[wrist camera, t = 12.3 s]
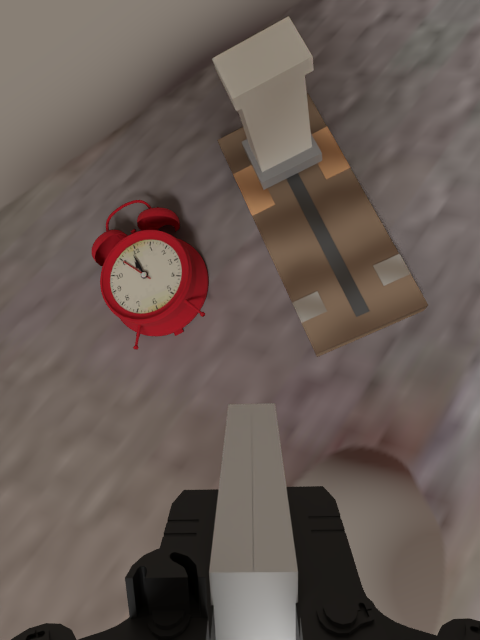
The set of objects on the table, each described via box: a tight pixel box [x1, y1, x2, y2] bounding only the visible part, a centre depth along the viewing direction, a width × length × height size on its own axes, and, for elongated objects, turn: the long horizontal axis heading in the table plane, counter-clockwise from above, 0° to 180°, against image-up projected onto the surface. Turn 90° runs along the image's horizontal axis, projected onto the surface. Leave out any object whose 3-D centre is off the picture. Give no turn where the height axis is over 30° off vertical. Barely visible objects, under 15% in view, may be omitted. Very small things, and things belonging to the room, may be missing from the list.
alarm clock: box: [92, 200, 208, 349], centre depth 41 cm, size 10×6×15 cm
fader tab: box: [212, 16, 322, 190], centre depth 34 cm, size 5×6×11 cm
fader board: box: [217, 93, 428, 357], centre depth 39 cm, size 24×10×2 cm, turn 22°
